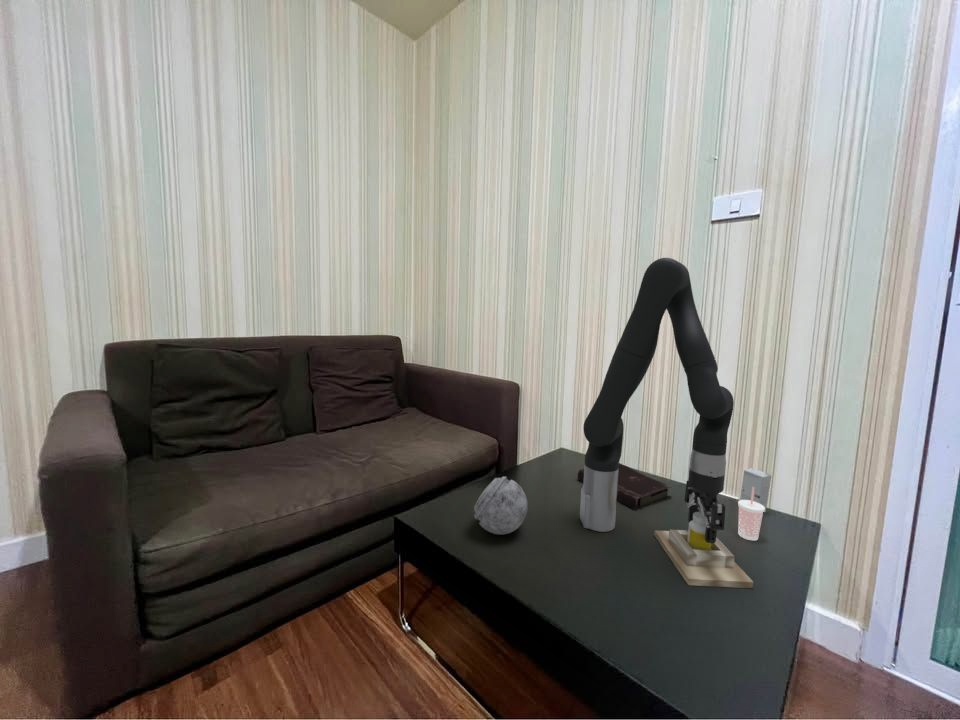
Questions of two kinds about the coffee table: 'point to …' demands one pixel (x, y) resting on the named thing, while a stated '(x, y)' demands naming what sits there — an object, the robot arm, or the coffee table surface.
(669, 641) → the coffee table surface
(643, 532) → the coffee table surface
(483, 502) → the decorative orb
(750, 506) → the beverage cup
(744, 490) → the skincare box
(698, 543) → the supplement bottle
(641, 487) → the diary
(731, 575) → the socket board
